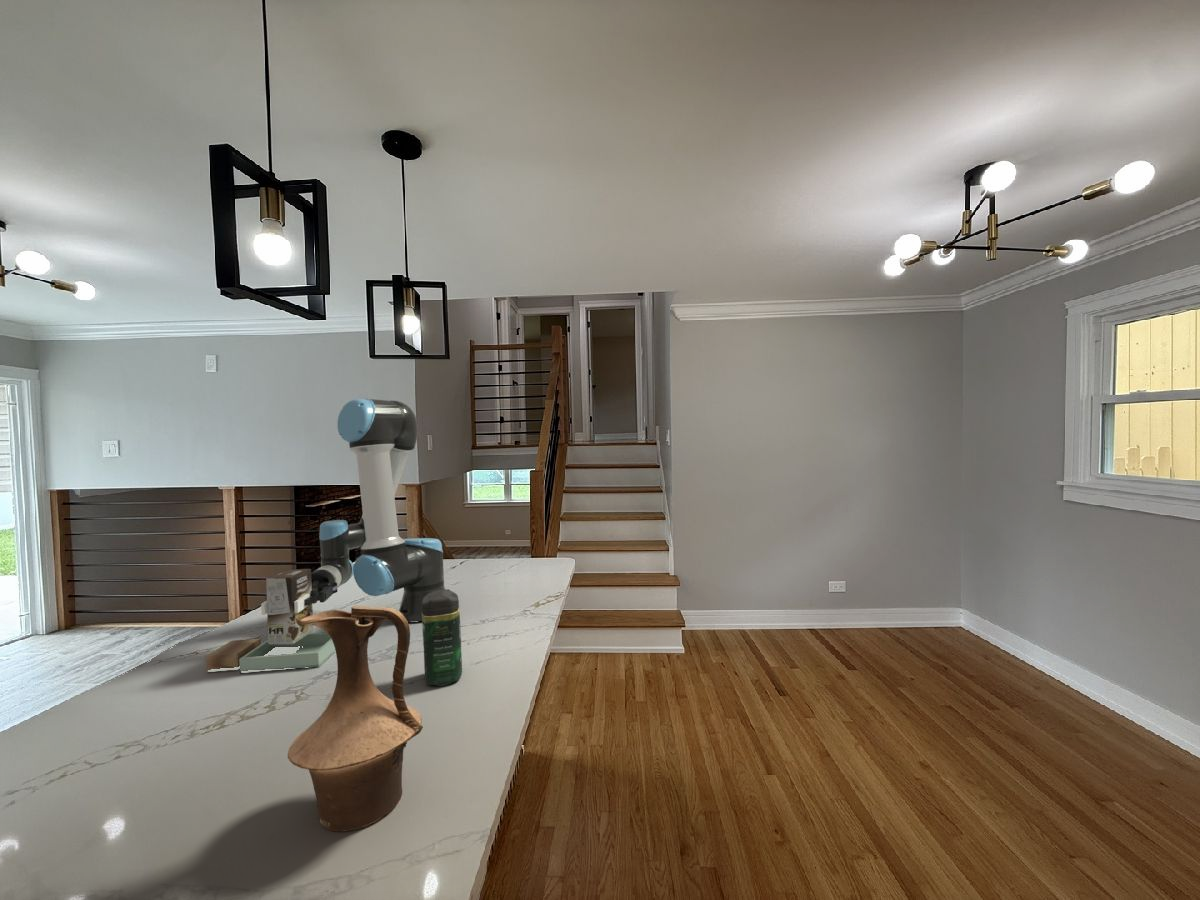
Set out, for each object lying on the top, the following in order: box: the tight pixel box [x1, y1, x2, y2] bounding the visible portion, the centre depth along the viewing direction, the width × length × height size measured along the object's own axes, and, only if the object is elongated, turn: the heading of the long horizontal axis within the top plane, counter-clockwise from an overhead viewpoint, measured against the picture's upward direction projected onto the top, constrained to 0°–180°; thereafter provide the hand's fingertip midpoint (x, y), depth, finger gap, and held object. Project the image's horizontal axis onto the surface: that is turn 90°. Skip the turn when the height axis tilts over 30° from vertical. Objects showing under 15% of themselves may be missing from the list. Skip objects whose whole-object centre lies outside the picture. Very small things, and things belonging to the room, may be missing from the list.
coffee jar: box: [421, 588, 463, 687], centre depth 117 cm, size 10×8×19 cm
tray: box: [239, 631, 336, 672], centre depth 132 cm, size 18×15×4 cm
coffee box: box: [265, 568, 314, 645], centre depth 133 cm, size 9×6×16 cm
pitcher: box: [287, 605, 424, 832], centre depth 76 cm, size 18×17×28 cm
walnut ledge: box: [205, 638, 262, 671], centre depth 131 cm, size 7×10×4 cm
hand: (279, 608), depth 128 cm, fingers closed on coffee box, 7 cm apart
